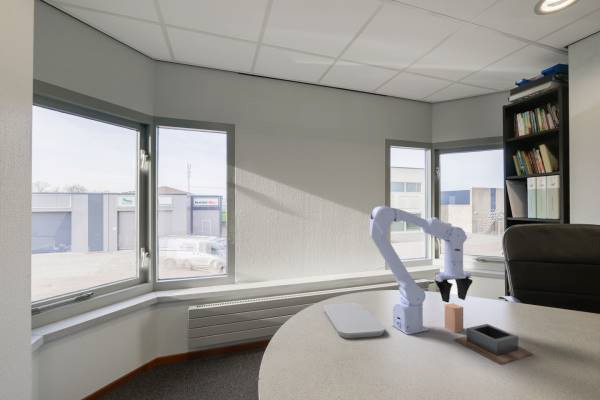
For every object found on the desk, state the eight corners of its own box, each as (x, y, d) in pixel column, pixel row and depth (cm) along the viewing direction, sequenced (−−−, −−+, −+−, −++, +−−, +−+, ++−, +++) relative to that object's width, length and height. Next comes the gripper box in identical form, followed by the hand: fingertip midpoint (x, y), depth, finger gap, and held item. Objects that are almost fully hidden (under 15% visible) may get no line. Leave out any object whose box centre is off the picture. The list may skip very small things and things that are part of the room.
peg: (454, 332, 93) (454, 308, 93) (444, 327, 96) (444, 304, 97) (463, 330, 94) (463, 307, 94) (453, 325, 98) (453, 303, 98)
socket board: (500, 364, 74) (499, 347, 74) (454, 340, 87) (454, 326, 87) (533, 354, 79) (532, 338, 79) (485, 333, 92) (484, 319, 92)
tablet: (359, 308, 116) (359, 302, 116) (388, 337, 90) (388, 330, 90) (321, 310, 113) (321, 304, 113) (340, 341, 87) (340, 333, 87)
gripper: (448, 264, 89) (448, 306, 89) (479, 261, 95) (479, 301, 94) (430, 260, 96) (430, 299, 96) (460, 258, 101) (460, 295, 101)
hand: (453, 300), depth 96 cm, fingers open, 7 cm apart
